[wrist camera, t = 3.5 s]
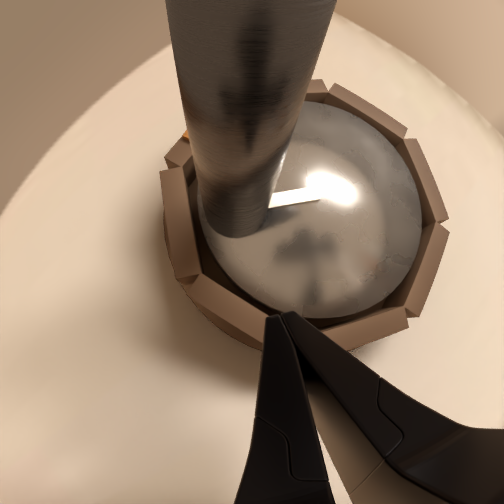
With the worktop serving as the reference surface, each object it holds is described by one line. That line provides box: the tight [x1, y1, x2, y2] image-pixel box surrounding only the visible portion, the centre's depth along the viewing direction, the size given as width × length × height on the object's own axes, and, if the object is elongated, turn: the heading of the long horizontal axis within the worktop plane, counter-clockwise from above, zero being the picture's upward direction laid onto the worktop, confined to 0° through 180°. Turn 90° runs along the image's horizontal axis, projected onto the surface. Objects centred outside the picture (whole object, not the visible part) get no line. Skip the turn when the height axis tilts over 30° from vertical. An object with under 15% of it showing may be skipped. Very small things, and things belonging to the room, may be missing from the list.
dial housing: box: [160, 79, 450, 352], centre depth 17 cm, size 17×17×4 cm
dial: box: [165, 0, 422, 319], centre depth 10 cm, size 13×13×14 cm
